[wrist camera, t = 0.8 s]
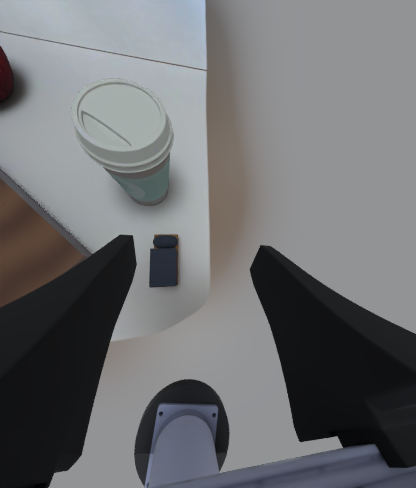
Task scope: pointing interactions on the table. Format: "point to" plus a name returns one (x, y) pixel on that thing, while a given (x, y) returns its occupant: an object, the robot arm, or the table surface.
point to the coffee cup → (126, 136)
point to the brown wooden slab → (31, 244)
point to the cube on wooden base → (164, 261)
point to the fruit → (5, 76)
